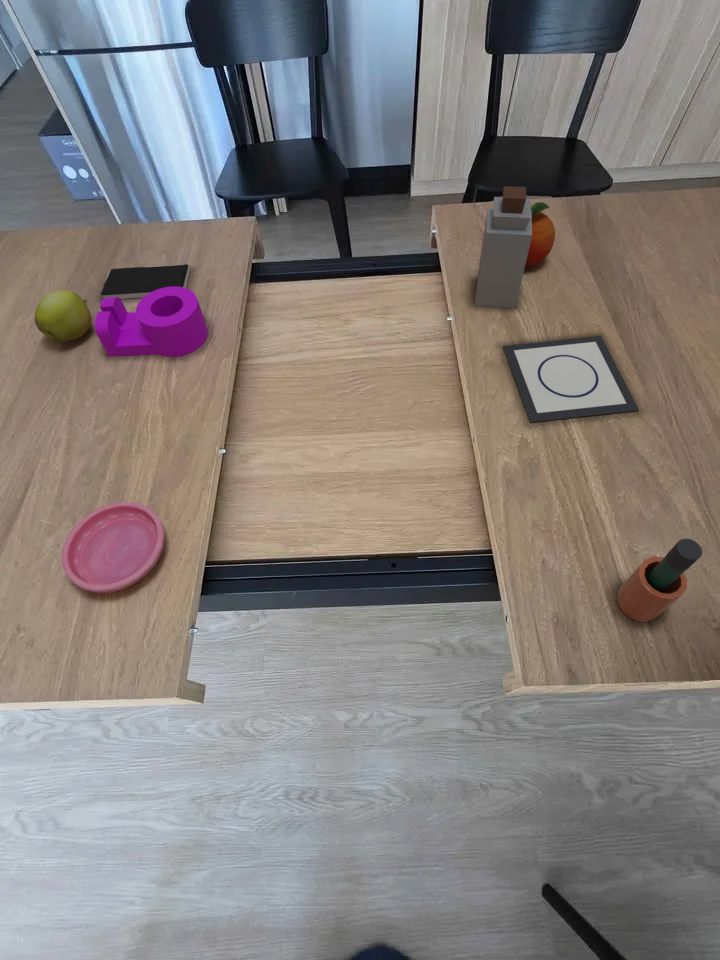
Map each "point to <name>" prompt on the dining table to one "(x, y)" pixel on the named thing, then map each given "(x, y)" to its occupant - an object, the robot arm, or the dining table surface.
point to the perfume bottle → (504, 249)
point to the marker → (674, 564)
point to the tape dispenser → (153, 324)
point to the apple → (62, 316)
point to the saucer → (113, 547)
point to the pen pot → (648, 593)
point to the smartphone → (143, 280)
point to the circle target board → (568, 379)
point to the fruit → (540, 235)
